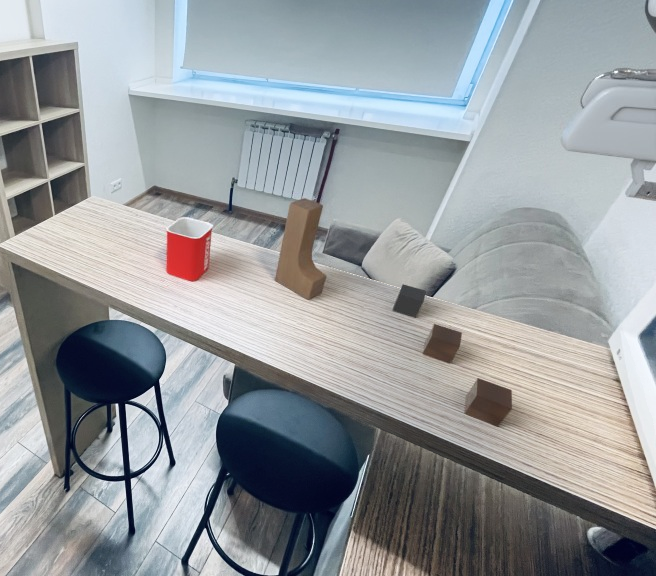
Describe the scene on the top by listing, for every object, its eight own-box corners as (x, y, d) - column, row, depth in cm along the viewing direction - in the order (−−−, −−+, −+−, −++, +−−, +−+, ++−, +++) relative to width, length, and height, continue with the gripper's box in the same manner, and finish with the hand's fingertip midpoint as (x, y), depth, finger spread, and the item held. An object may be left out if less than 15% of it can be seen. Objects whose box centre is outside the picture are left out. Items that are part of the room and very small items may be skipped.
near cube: (498, 408, 60) (511, 389, 57) (498, 427, 57) (512, 408, 55) (465, 395, 62) (477, 377, 59) (464, 413, 59) (476, 395, 57)
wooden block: (322, 293, 84) (345, 212, 73) (308, 301, 82) (330, 219, 71) (287, 274, 90) (304, 197, 80) (273, 280, 88) (289, 202, 78)
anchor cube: (418, 307, 80) (426, 290, 77) (415, 318, 77) (423, 301, 75) (395, 300, 81) (402, 284, 79) (392, 310, 79) (399, 294, 77)
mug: (195, 283, 87) (198, 240, 81) (162, 272, 91) (162, 230, 85) (219, 259, 96) (223, 217, 89) (188, 250, 99) (190, 209, 93)
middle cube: (452, 349, 70) (462, 332, 67) (449, 363, 67) (460, 346, 65) (425, 340, 72) (434, 323, 69) (422, 354, 69) (431, 336, 67)
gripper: (602, 69, 45) (536, 188, 53) (920, 84, 35) (780, 227, 43) (593, 63, 49) (533, 174, 57) (876, 75, 40) (756, 207, 48)
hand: (641, 197), depth 50 cm, fingers closed
